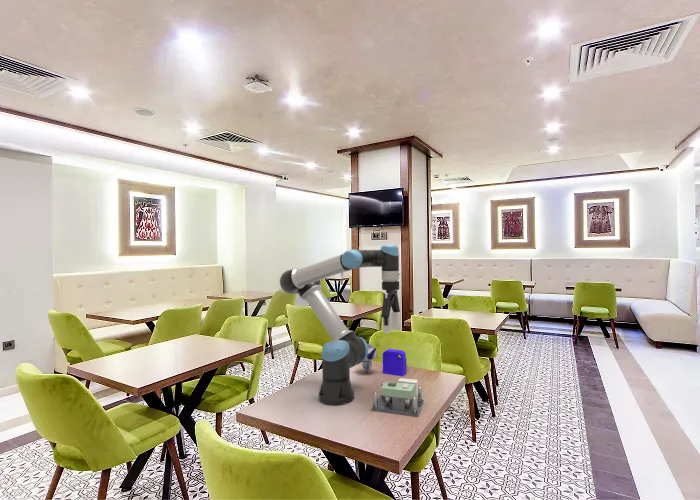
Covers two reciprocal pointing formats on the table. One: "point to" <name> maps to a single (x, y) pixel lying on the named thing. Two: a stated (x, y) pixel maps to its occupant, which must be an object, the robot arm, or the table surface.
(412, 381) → the block
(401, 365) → the bracket
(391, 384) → the board
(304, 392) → the table surface
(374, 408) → the chassis
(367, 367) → the toy
